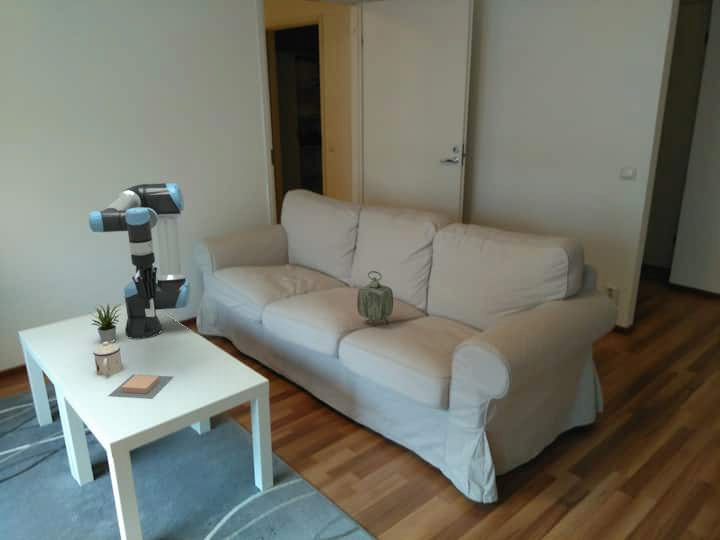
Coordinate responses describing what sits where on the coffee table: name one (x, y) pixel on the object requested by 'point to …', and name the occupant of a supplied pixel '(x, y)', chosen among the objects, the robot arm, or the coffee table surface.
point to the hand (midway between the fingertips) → (150, 316)
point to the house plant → (106, 324)
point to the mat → (150, 395)
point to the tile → (140, 384)
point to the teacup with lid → (107, 359)
